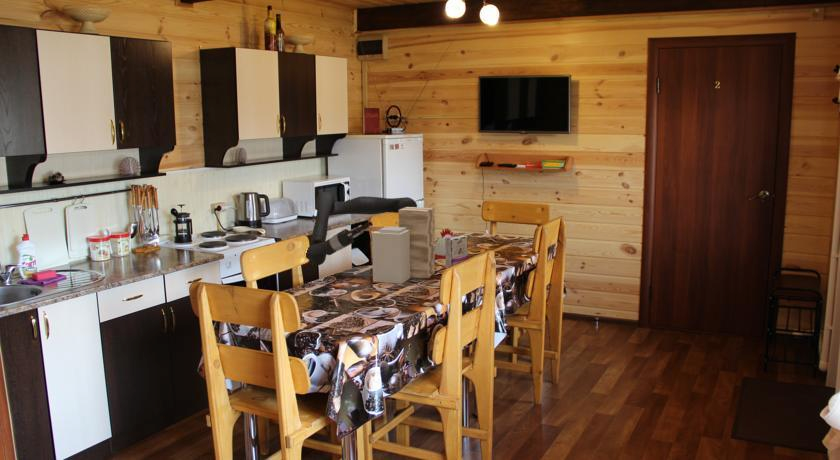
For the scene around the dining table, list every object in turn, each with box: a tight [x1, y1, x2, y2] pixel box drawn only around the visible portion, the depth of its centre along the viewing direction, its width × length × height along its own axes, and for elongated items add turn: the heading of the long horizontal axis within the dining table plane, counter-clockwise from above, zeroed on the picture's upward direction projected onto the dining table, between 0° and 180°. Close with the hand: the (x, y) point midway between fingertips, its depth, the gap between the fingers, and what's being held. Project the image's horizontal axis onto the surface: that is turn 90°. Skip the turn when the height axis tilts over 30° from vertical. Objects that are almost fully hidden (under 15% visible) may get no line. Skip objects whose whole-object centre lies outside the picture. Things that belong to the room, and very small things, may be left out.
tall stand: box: [398, 206, 436, 279], centre depth 356 cm, size 11×14×32 cm
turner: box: [357, 224, 406, 234], centre depth 346 cm, size 9×22×2 cm, turn 70°
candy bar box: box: [445, 235, 469, 269], centre depth 367 cm, size 11×5×16 cm, turn 129°
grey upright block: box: [371, 230, 411, 285], centre depth 347 cm, size 12×14×23 cm
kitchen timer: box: [435, 227, 454, 260], centre depth 401 cm, size 14×14×15 cm
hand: (369, 223), depth 348 cm, fingers open, 3 cm apart
